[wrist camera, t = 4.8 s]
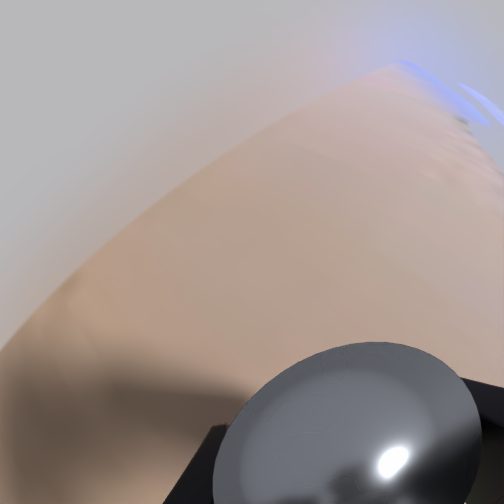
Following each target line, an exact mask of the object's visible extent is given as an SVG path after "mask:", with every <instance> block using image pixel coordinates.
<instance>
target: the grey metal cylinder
mask: <svg viewBox="0 0 504 504" xmlns="http://www.w3.org/2000/svg"><path fill="white" fill-rule="evenodd" d="M481 451H482V430H481V422H480V417H479V414H478V410H477V406H476V404H475V402H474V399H473V397H472V395H471V393H470V391H469V390H468V388H467V387H466V385H465V383H464V382H463V381H462V380H461V378H460V377H459V376H458V375H457V374H456V373H455V372H454V371H453V370H452V369H451V368H450V367H449V366H447V365H446V364H445V363H444V362H442V361H441V360H439V359H437V358H436V357H434V356H433V355H431V354H429V353H426V352H424V351H422V350H419V349H417V348H413V347H410V346H406V345H403V344H395V343H388V342H365V343H355V344H349V345H345V346H340V347H335V348H332V349H329V350H326V351H323V352H320V353H317V354H315V355H313V356H311V357H308V358H306V359H304V360H302V361H300V362H298V363H296V364H294V365H293V366H291V367H289V368H288V369H286V370H284V371H283V372H281V373H280V374H279V375H277V376H276V377H275V378H273V379H272V380H271V381H269V382H268V383H267V384H265V385H264V386H263V387H262V388H261V389H260V390H259V391H258V392H257V393H256V394H255V395H254V396H253V397H252V398H251V399H250V400H249V401H248V402H247V404H246V405H245V406H244V407H243V408H242V409H241V411H240V412H239V413H238V415H237V416H236V418H235V419H234V421H233V422H232V424H231V425H230V427H229V429H228V431H227V433H226V435H225V437H224V439H223V441H222V443H221V445H220V449H219V452H218V455H217V458H216V461H215V467H214V473H213V498H214V504H464V502H465V501H466V499H467V497H468V495H469V493H470V491H471V489H472V486H473V484H474V481H475V479H476V475H477V472H478V468H479V464H480V458H481Z"/></svg>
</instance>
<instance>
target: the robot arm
mask: <svg viewBox="0 0 504 504" xmlns="http://www.w3.org/2000/svg"><path fill="white" fill-rule="evenodd" d="M460 378H461V377H460ZM461 380H462V381H463V382H464V383H465V385H466V387H467V388H468V390H469V391H470V393H471V395H472V397H473V399H474V402H475V404H476V406H477V410H478V414H479V417H480V422H481V430H482V451H481V458H480V464H479V468H478V472H477V475H476V479H475V481H474V484H473V486H472V489H471V491H470V493H469V495H468V497H467V499H466V501H465V502H466V504H504V388H503V387H498V386H494V385H490V384H485V383H481V382H477V381H473V380H469V379H465V378H461ZM229 427H230V426H229V425H228V424H226V423H224V424H218V425H214V426H212V428H211V429H210V431H209V432H208V434H207V436H206V437H205V439H204V441H203V442H202V444H201V445H200V447H199V449H198V450H197V452H196V453H195V455H194V457H193V458H192V460H191V461H190V463H189V464H188V466H187V468H186V469H185V471H184V472H183V474H182V475H181V477H180V478H179V480H178V481H177V483H176V484H175V486H174V487H173V489H172V490H171V492H170V493H169V495H168V496H167V498H166V499H165V501H164V502H163V504H214V498H213V473H214V467H215V461H216V458H217V455H218V452H219V449H220V445H221V443H222V441H223V439H224V437H225V435H226V433H227V431H228V429H229Z"/></svg>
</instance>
